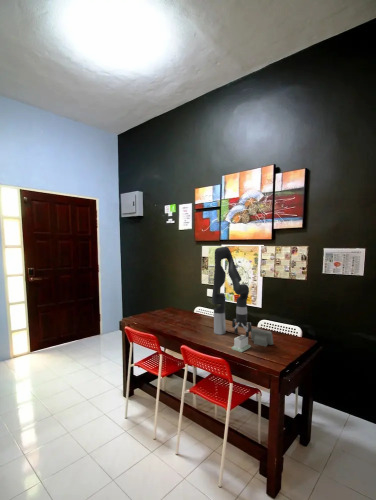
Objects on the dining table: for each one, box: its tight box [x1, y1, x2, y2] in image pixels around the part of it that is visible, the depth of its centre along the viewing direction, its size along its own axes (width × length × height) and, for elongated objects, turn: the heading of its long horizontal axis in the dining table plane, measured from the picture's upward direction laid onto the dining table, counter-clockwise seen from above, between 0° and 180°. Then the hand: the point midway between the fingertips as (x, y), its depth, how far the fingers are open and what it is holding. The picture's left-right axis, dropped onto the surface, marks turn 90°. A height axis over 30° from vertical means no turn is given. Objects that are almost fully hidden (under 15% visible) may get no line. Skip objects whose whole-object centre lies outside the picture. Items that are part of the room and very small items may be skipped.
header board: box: [231, 344, 252, 353], centre depth 170 cm, size 12×8×6 cm, turn 136°
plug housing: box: [233, 334, 249, 349], centre depth 170 cm, size 10×5×7 cm, turn 136°
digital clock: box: [250, 327, 274, 348], centre depth 178 cm, size 16×9×11 cm, turn 44°
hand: (241, 335), depth 170 cm, fingers open, 8 cm apart
